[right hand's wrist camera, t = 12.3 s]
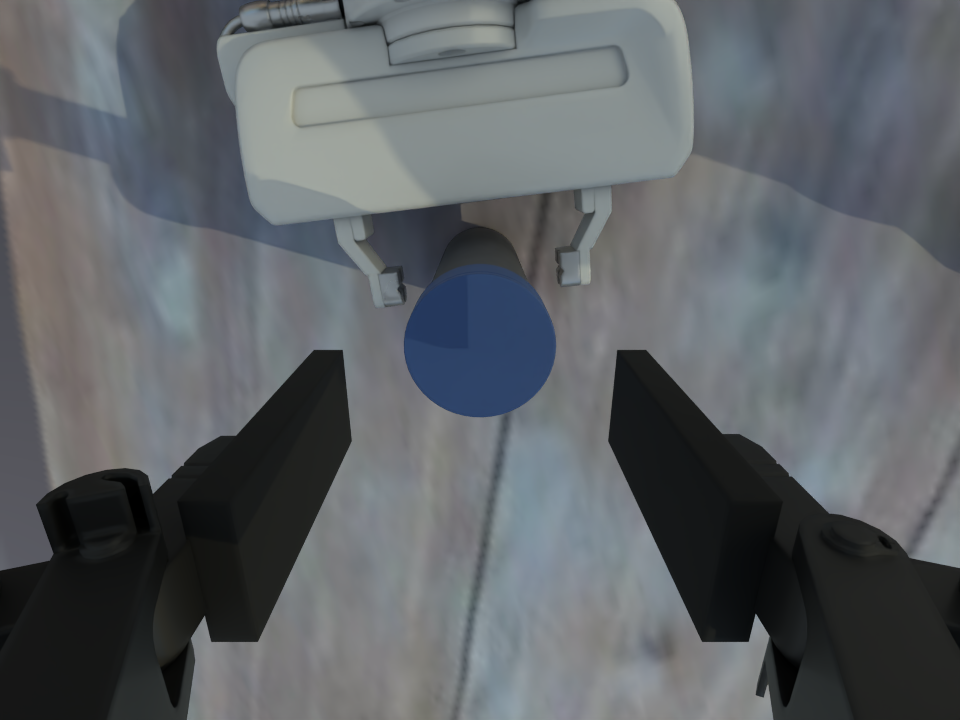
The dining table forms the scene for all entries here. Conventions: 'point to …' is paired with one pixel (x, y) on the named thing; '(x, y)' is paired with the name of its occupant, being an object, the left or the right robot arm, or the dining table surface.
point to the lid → (479, 341)
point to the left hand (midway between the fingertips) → (481, 294)
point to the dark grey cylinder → (480, 252)
